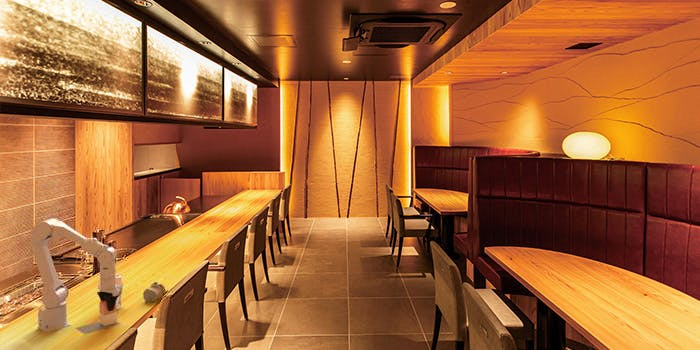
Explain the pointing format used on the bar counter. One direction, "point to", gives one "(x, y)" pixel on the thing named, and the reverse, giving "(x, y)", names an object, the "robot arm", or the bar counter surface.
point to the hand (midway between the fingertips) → (108, 309)
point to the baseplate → (94, 327)
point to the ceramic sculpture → (154, 292)
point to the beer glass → (119, 290)
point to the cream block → (108, 318)
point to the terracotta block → (105, 308)
